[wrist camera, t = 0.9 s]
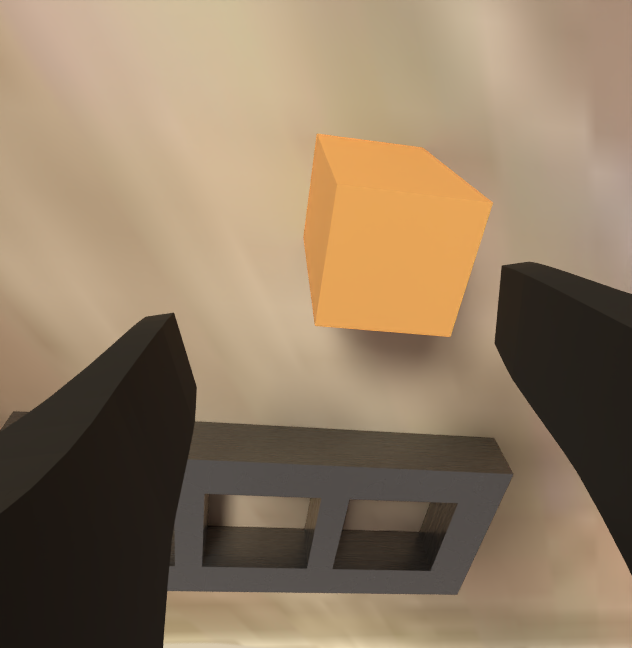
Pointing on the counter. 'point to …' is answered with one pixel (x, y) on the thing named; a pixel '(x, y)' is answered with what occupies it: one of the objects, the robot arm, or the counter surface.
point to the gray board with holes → (333, 509)
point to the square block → (389, 237)
